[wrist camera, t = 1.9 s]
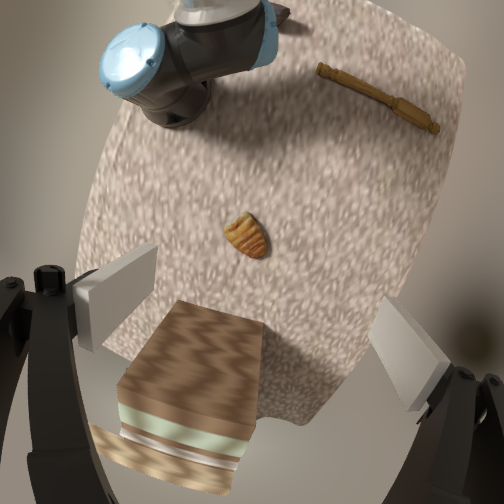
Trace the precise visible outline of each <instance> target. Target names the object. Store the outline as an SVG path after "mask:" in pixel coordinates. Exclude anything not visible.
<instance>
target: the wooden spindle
mask: <svg viewBox="0 0 504 504" xmlns="http://www.w3.org/2000/svg"><path fill="white" fill-rule="evenodd" d="M316 74H320V75H321V76H323V77H331V80H335V81H336V82H338V83H341V84H343V85H346V86H348V87H350V88H353V89H355V90H358V91H360V92H362V93H364V94H367V95H369V96H371V97H373V98H375V99H377V100H380V101H382V102H384V103H386V104H387V106H388V107H392V110H393V112H394V113H396V114H398V115H400V116H401V117H403V118H405V119H406V120H408V121H410V122H411V123H413V124H415V125H416V126H418V127H419V128H421V129H429V130H430V132H431V133H433V134H438V133H439V132H440V126H439V125H438V124H437V123H435V122H432V121H431V118H430V115H429V114H427V113H426V112H424V111H423V110H421V109H420V108H418V107H416V106H415V105H413V104H412V103H410V102H408V101H407V100H405V99H403V98H396V99H395V98H394V97H393V96H389V95H387V94H386V93H384V92H382V91H380V90H379V89H377V88H375V87H373V86H371V85H369V84H368V83H366V82H364V81H362V80H360V79H358V78H356V77H354V76H352V75H350V74H348V73H346V72H343V71H341V70H338V69H332V68H331V67H330V66H329V65H327V64H323V63H321V62H320V63H319V65H318V67H317V70H316Z"/></svg>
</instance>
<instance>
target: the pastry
mask: <svg viewBox="0 0 504 504" xmlns="http://www.w3.org/2000/svg"><path fill="white" fill-rule="evenodd" d="M223 231H224V233H225V234H226V237H227V239H228V240H229V242H230V243H231V244H232V245H233V246H234V247H235V248H236V249H237V250H238V251H240V252H242V253H244V254H246V255H247V256H249V257H250V258H259V257H261V256H263V255H264V254H265V253H266V249H267V245H266V242H265V237H264V235H263V233H262V231H261V227H260V226H259V225H257V223H256V222H255V220H254V219H253V218H252V216H251V215H250V213H249V212H247V211H245V212H243V213H242V214H240V215H239V216H238V217H237V218H236V219H234V221H230V222H228V223H227V224H226V225H225V227H224V230H223Z"/></svg>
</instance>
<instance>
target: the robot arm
mask: <svg viewBox="0 0 504 504" xmlns="http://www.w3.org/2000/svg"><path fill="white" fill-rule="evenodd" d="M179 1H180V5H179V6H178V8H177V9H176V11H175V14H174V18H175V20H176V21H175V22H172V23H169V24H167V25H164V26H162V27H158V26H157V25H154V24H147V23H138V24H135V25H131V26H129V27H127V28H126V29H124V30H123V31H121V32H120V33H119V34H117V35H116V36H115V37H114V38H113V39H112V40H111V42H110V43H109V44H108V46H107V49H106V50H105V52H104V53H103V55H102V57H101V61H100V65H99V76H100V80H101V82H102V84H103V85H104V87H105V88H106V89H107V90H109V91H110V92H112V93H113V94H114V95H115V96H118V97H119V98H122V99H125V100H127V101H129V102H131V103H134V104H136V105H138V106H140V107H141V109H142V111H143V113H144V115H145V116H146V117H147V118H148V119H149V120H150V121H152V122H153V123H155V124H158V125H160V126H163V127H179V126H183V125H185V124H187V123H189V122H191V121H193V120H194V119H195V118H197V117H198V116H199V115H200V114H201V113H202V112H203V110H204V109H205V107H206V106H207V104H208V102H209V99H210V94H211V85H210V81H209V80H210V79H214V78H218V77H222V76H226V75H230V74H234V73H238V72H243V71H250V70H253V69H254V68H258V67H262V66H266V65H268V64H270V63H272V62H273V61H274V59H275V58H276V55H277V51H278V28H277V26H276V16H275V12H274V9H273V7H272V5H271V3H270V2H269V1H268V0H179ZM157 249H158V245H155V244H151V243H144V244H142V245H140V246H138V247H137V248H135V249H133V250H131V251H129V252H128V253H126V254H124V255H122V256H121V257H119V258H117V259H115V260H114V261H112V262H110V263H109V264H107V265H105V266H103V267H102V268H100V269H95V270H91V271H88V272H86V273H84V274H83V275H82V276H79V277H78V278H77V279H74V280H73V281H71V282H69V283H68V284H66V283H65V271H64V269H63V268H62V267H60V266H57V265H44V266H40V267H38V268H37V269H35V270H34V281H35V289H36V293H34V292H29V291H25V286H24V281H23V280H22V279H20V278H17V277H6V278H5V279H3V280H1V281H0V462H1V454H2V447H3V441H4V435H5V430H6V426H7V421H8V416H9V412H10V408H11V404H12V401H13V397H14V393H15V390H16V387H17V383H18V380H19V377H20V374H21V371H22V368H23V365H24V362H25V360H26V357H27V354H28V406H29V421H30V431H31V439H32V448H33V450H32V452H30V453H28V455H27V465H28V471H29V475H30V480H31V485H32V489H33V493H34V496H35V500H36V504H119V503H118V501H117V499H116V497H115V495H114V493H113V491H112V489H111V486H110V484H109V482H108V479H107V477H106V474H105V472H104V469H103V467H102V464H101V461H100V459H99V456H98V453H97V450H96V447H95V444H94V441H93V438H92V434H91V431H90V427H89V424H88V420H87V417H86V413H85V409H84V405H83V400H82V396H81V391H80V387H79V381H78V376H77V370H76V364H75V357H74V350H73V343H72V339H73V338H74V337H75V336H76V335H77V336H78V342H79V346H80V347H82V348H85V349H86V350H89V351H91V352H93V353H94V352H95V351H96V350H97V349H98V348H99V346H100V345H101V344H102V343H103V342H104V341H105V340H106V339H107V338H108V337H109V336H110V335H111V334H112V333H113V332H114V330H115V329H116V328H117V327H118V326H119V325H120V324H121V323H122V322H123V321H124V320H125V319H126V318H127V317H128V316H129V315H130V314H131V313H132V312H133V311H134V310H135V309H136V308H137V307H138V305H139V304H140V303H141V302H142V301H143V300H144V299H145V298H146V297H147V296H148V295H149V294H150V293H151V292H152V291H153V290H154V280H155V269H156V259H157ZM368 337H369V339H370V341H371V343H372V344H373V346H374V348H375V350H376V352H377V354H378V356H379V358H380V360H381V361H382V363H383V365H384V367H385V369H386V371H387V373H388V375H389V377H390V379H391V381H392V382H393V385H394V386H395V388H396V391H397V393H398V395H399V397H400V399H401V401H402V403H403V405H404V407H405V409H406V411H419V410H420V409H421V408H422V406H423V405H424V403H425V402H426V401H427V402H428V404H429V408H428V409H427V410H426V411H425V413H424V414H423V415H422V417H421V418H420V419H419V420H418V422H417V423H416V424H419V423H420V422H421V424H420V427H419V429H418V432H417V435H416V437H415V439H414V442H413V444H412V447H411V449H410V451H409V453H408V455H407V458H406V460H405V462H404V464H403V466H402V468H401V470H400V472H399V474H398V476H397V478H396V480H395V482H394V484H393V486H392V487H391V489H390V491H389V493H388V494H387V496H386V498H385V499H384V501H383V503H382V504H504V384H503V382H502V381H501V380H500V378H499V377H498V376H497V375H493V374H486V376H485V377H484V379H483V381H482V382H479V381H476V379H475V376H474V374H473V373H472V372H471V371H470V370H468V369H466V368H464V367H459V366H457V367H454V366H453V365H452V363H451V362H450V360H449V359H448V358H447V357H446V355H445V354H444V353H443V352H442V351H441V349H440V348H439V347H438V346H437V345H436V344H435V342H434V341H433V340H432V339H431V338H430V336H429V335H428V334H427V333H426V332H425V331H424V330H423V328H422V327H421V326H420V325H419V324H418V323H417V322H416V320H415V319H413V317H412V316H411V315H410V314H409V313H408V312H407V310H405V308H404V307H403V306H402V305H401V304H400V303H399V302H398V301H397V300H396V299H395V298H394V297H389V296H384V297H383V300H382V302H381V305H380V307H379V310H378V312H377V315H376V317H375V320H374V322H373V324H372V327H371V329H370V331H369V333H368ZM28 352H29V353H28ZM486 412H487V414H486V417H485V419H484V420H483V421H482V423H480V419H481V418H482V417H483V416H484V414H485V413H486Z"/></svg>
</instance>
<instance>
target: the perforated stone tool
mask: <svg viewBox="0 0 504 504" xmlns="http://www.w3.org/2000/svg"><path fill="white" fill-rule="evenodd" d="M270 3H271V5H272V7H273V9H274V12H275V16H276V26H278V25H279V24H281V23H282V22H283V21H284V20H285V19H286V18H288V16H289V15H290V14H291V13H290V9H289V8H287V7H284V6H282V5H279V4H275V3H272V2H270Z"/></svg>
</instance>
